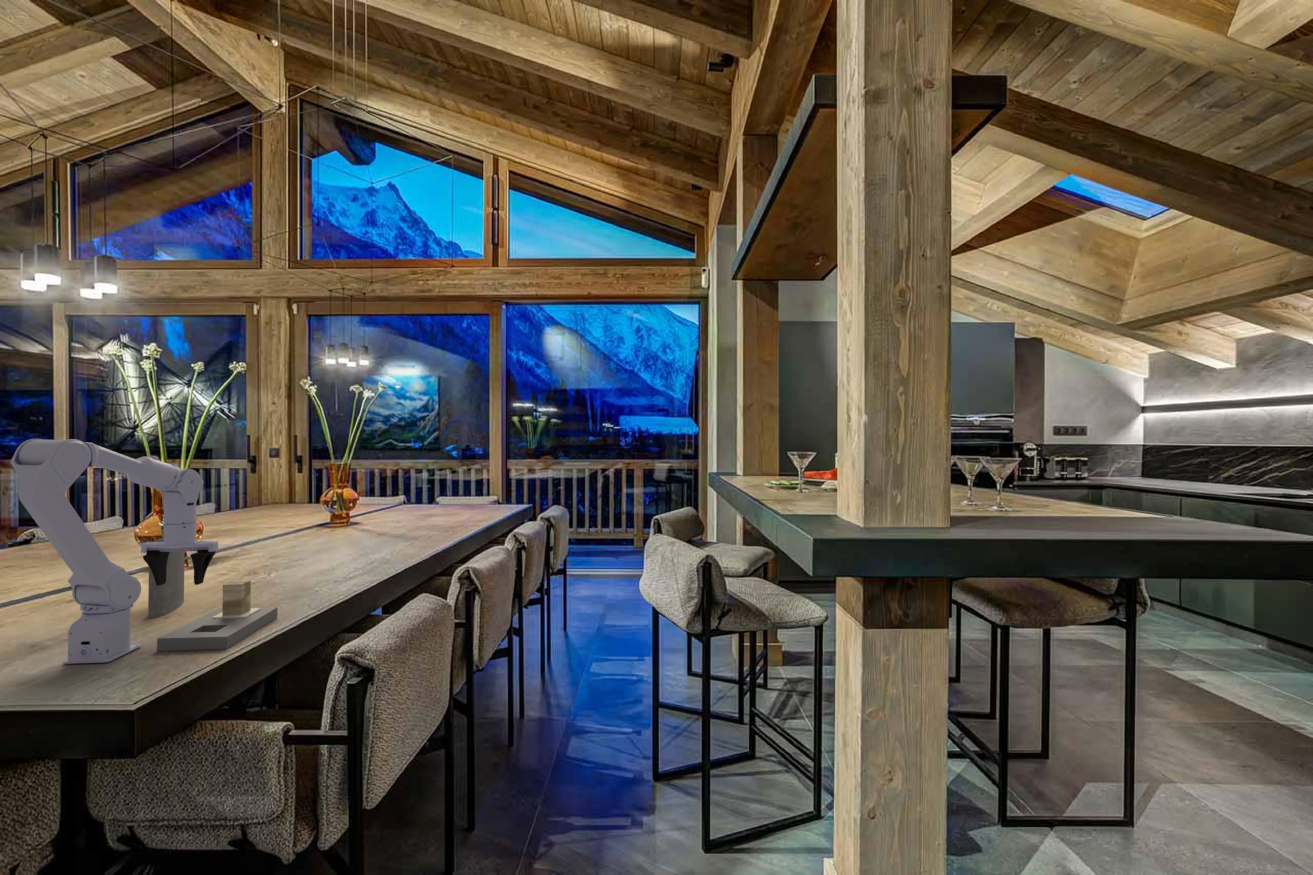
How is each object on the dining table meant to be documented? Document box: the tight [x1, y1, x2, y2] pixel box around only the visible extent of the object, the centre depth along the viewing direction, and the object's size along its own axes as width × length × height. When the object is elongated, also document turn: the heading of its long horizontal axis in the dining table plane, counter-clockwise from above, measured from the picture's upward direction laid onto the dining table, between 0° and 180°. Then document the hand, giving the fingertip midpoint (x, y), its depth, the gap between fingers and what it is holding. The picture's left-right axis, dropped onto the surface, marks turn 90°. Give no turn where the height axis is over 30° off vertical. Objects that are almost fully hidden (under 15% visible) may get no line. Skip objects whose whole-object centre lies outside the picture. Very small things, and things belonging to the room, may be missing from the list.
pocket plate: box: [156, 606, 278, 652], centre depth 137 cm, size 22×13×3 cm, turn 8°
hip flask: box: [147, 528, 186, 618], centre depth 156 cm, size 16×4×20 cm, turn 21°
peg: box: [222, 579, 252, 616], centre depth 143 cm, size 4×4×7 cm
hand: (180, 584), depth 138 cm, fingers open, 7 cm apart
